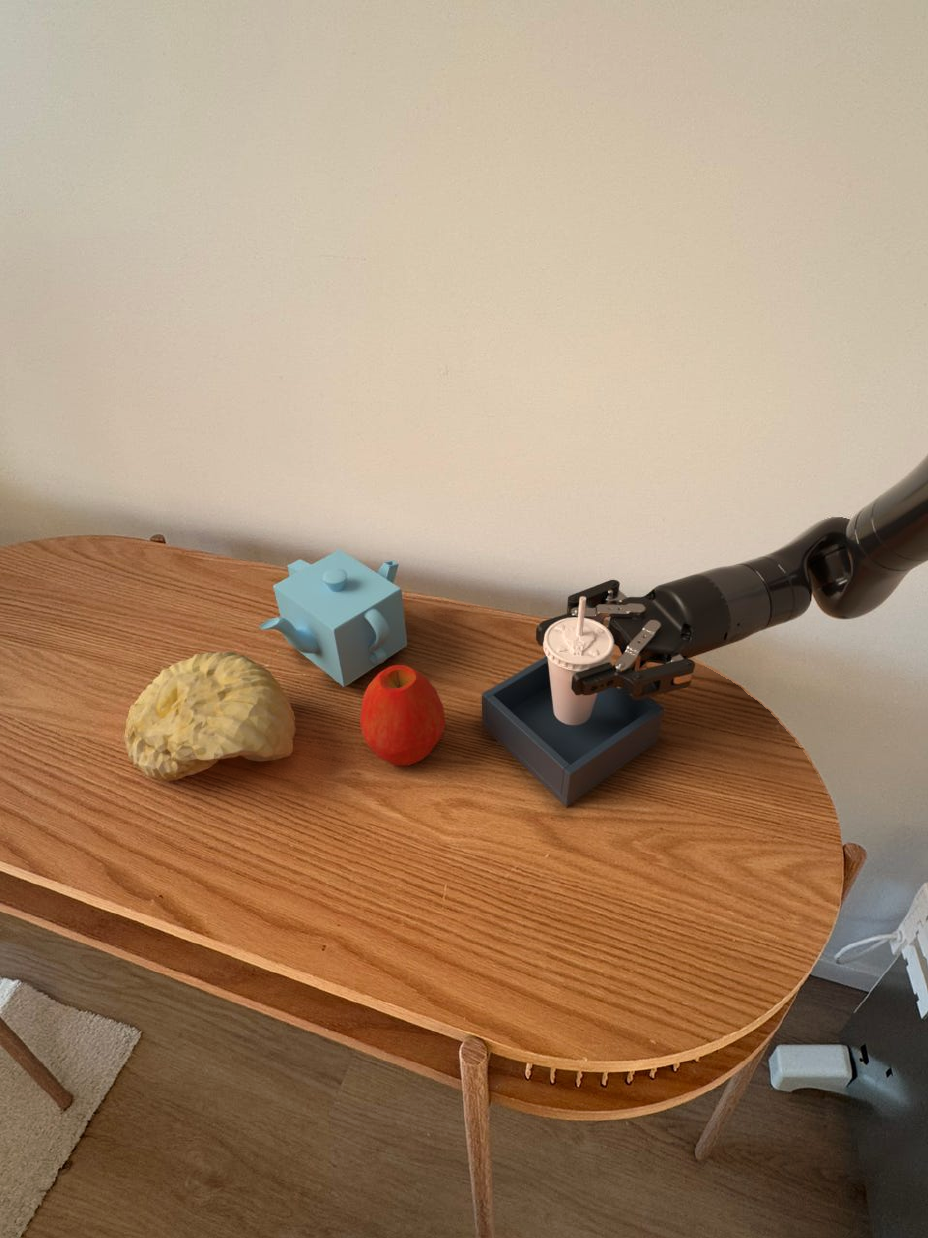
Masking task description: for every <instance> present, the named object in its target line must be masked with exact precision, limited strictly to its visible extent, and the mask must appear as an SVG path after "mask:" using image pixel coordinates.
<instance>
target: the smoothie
mask: <svg viewBox="0 0 928 1238" xmlns="http://www.w3.org/2000/svg"><path fill="white" fill-rule="evenodd" d="M585 605H586V597H583V596H582V597H580V600H579V611H578V617H573V618H566V619H562V620H559V621H557V622H555V623H554V624H552V625H551V626H550V627H549V628H548V629H547V631H546V633H545V636H544V642H543V646H542V649H543V651H544V654H545V657H546V656H547V657H548V664H549V674H550V683H551V692H552V701H553V710H554V715H555V716H556V718H557V719H558V720H559V721H561V722H562V723H565V724H568V725H580V724H583V723H585V722H586V721H587V720H588V719H589V718H590V716H591V712H592V709H593V706H594V703H595V699H596V696H597V693H595V694H592V695H583V694H581V695H575V693H574V692H573V691H572V689H571V684H572V677H573V675H574V674H576V673H578V672H581V671H584V670H587V669H590V668H593V667H596V666H599V665H602V664H605V663H608V662H610V661H611V659H612V658H613V656H614V652H615V644H614V639H613V636H612V634H611V632H610V631H609V630H608V629H607V628H606V627H607V626H605V625H604V624H603V625H602V624H600V623H599V622H596V621H595V620H591V619H588V618H584V615H585Z"/></svg>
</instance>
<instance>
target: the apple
mask: <svg viewBox="0 0 928 1238" xmlns="http://www.w3.org/2000/svg"><path fill="white" fill-rule="evenodd" d="M359 719H360V722H359V723H360V730H361V734H362V736H363V739H364V742H365V744H366V745H367V746H368V748H369V749H370V750H371V751H372V752H373V753H374V754H375V755H376V757H377V758H379V759H381V760H383V761H385V762H386V763H388V764H391V765H393V766H395V767H398V766H400V767H401V766H402V767H403V766H404V767H408V766H410V765H413V764H415V763H418V762H421V761H423V760H424V759H425V758H426V757H427V756H429V754H430V753H432V751H433V749H434V748H435V746H436V745H437V743H438V742H439V741H440V739H441V738H442V734H443V733H444V729H445V725H446V714H445V709H444V705H443V703H442V701H441V698H440V696H439V694H438V692H437V690H436V688H435V687H434V685H433V684H432V683H431V681H430V680H429V679H428V677H426V676H425V674H423V673H422V672H420V671H418V670H416V669H415V668H413V667H410V666H407V665H403V664H394V665H391V666H388V667H386V668H385V669H382V671H380V672H379V673H377V675H376V676H375V677H374V678H373V679H372V680H371V682H370V683H369V684H368V686H367V688H366V689H365V691H364V693H363V697H362V704H361V710H360V717H359Z"/></svg>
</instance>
